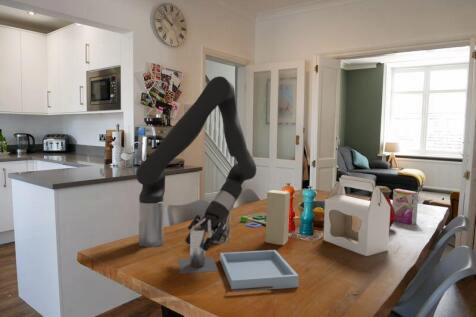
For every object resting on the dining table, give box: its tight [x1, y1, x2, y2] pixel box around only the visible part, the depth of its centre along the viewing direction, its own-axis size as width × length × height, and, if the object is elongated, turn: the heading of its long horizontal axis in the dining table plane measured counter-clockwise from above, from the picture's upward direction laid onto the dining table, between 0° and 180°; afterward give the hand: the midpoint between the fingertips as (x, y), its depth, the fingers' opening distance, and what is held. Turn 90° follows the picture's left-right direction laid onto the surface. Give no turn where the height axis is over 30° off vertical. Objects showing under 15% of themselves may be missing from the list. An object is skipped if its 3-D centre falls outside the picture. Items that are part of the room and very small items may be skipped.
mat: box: [178, 256, 219, 275], centre depth 114 cm, size 12×12×1 cm
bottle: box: [368, 185, 397, 230], centre depth 165 cm, size 16×14×20 cm
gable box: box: [323, 174, 390, 257], centre depth 139 cm, size 22×13×28 cm, turn 32°
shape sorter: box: [240, 212, 300, 229], centre depth 176 cm, size 34×19×5 cm, turn 125°
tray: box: [219, 249, 300, 293], centre depth 110 cm, size 20×22×4 cm
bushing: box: [189, 226, 206, 268], centre depth 114 cm, size 5×5×12 cm
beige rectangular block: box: [265, 189, 291, 246], centre depth 142 cm, size 8×7×21 cm
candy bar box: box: [391, 188, 419, 226], centre depth 177 cm, size 11×5×16 cm, turn 34°
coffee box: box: [212, 212, 231, 245], centre depth 142 cm, size 9×6×16 cm
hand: (195, 246), depth 113 cm, fingers open, 8 cm apart
